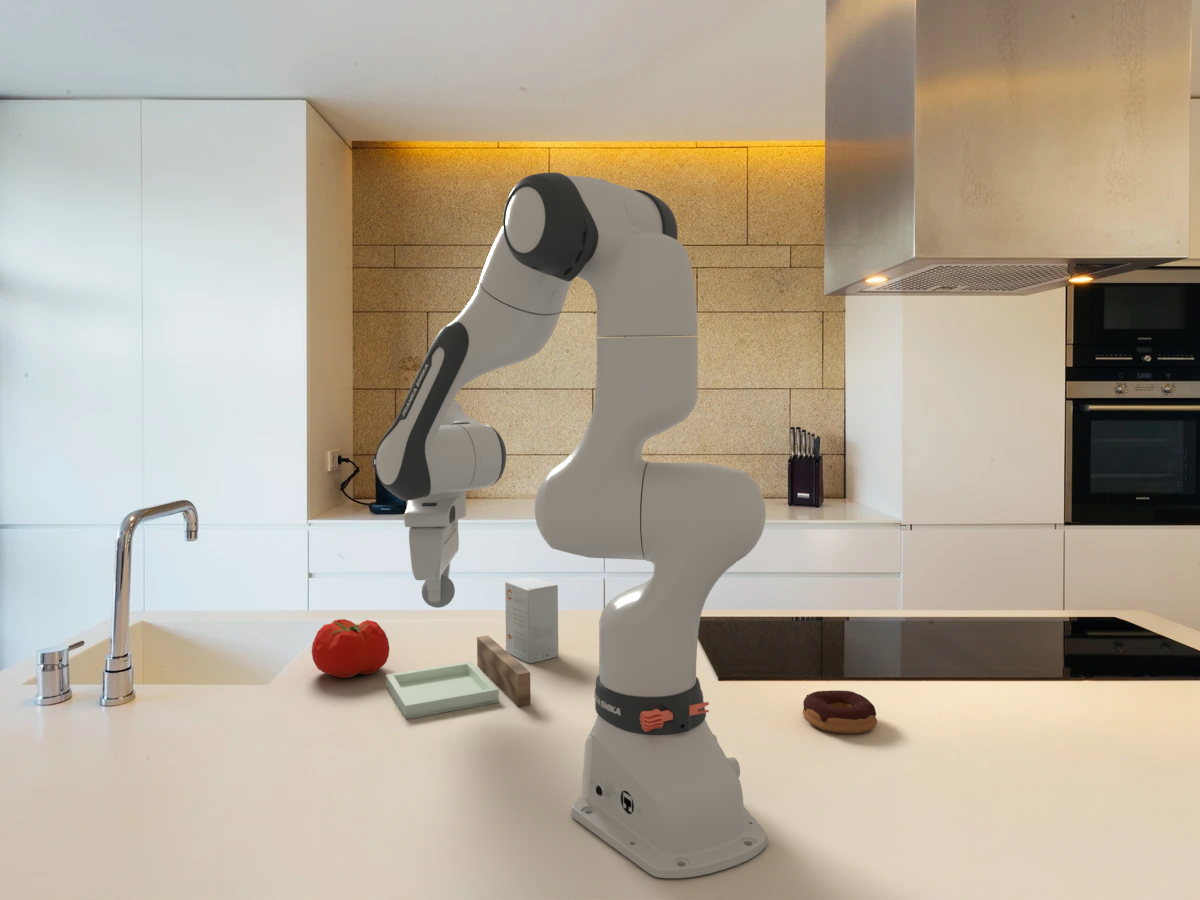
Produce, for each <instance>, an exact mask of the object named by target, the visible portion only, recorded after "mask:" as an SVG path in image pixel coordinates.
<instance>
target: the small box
mask: <svg viewBox="0 0 1200 900" xmlns="http://www.w3.org/2000/svg"><path fill="white" fill-rule="evenodd" d="M504 587H505V589H504V590H505V591H504V592H505V651H507V652H508V653H509V654H510V655H511V656H512V657H514V658H518V659H519V660H521V661H523V662H525V663H527V664H534V663H539V662H542V661H546V660H551V659H555V658H557V657H559V598H558V597H559V592H558V589H559V585H558V584H556V583H553V582H549V581H547V580H543V579H541V578H538V577H535V576H534V577H533V576H531V577H526V578H520V579H513V580H507V581H505V586H504Z"/></svg>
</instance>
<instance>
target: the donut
mask: <svg viewBox="0 0 1200 900" xmlns="http://www.w3.org/2000/svg"><path fill="white" fill-rule="evenodd" d="M802 716H803V719H804V720H805V721H807V722H808V723H809V724H811V725H812V726H814V727H816V728H817V729H820V730H822V731H826V732H829V733H830V732H831V733H835V734H843V735H844V734H845V735H854V734H855V735H857V734H863V733H868V732H869V731H872V730H873V729H875V728H876V726H877V725H878V720H877V717H876V716H877V712H876V707H875V706H874V705H873V703H872V702H871V701H869V699H868V698H866V697H864V696H863V695H861V694H859V693H856V692H855V691H851V690H840V689H839V690H817V691H813V692H811V693H809V694H806V696H805V697H804V699H803V710H802Z"/></svg>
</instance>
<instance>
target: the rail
mask: <svg viewBox="0 0 1200 900" xmlns="http://www.w3.org/2000/svg"><path fill="white" fill-rule="evenodd" d="M476 659H477V660H476V662H477V666H476V667H477V668H478V669H479V670H480V671H481V672H482V673H483V674H484V675H485V676H486V677H487V678H488V679H489V680H490V681H491V682H492V683H493V684H494V685H495V686H496V687H498V689H499V690H501V692H502V693H503V694H505V695H506V696H507V698H508V699H509V700H511V701H512V703H513V704H514V705H515V706H516V707H518V708H521V707H527V706H530V705H532V704H531V699H532V698H531V672H530V671H529V669H527V668H526V667H525V666H524V665H523V664H521V662H519V661H518V660H517V659H516V657H514V656H513V655H511V654H509V653H508V652H507V651H506V649H505V648H503V647H502V646H501V645H500V644H499V643H498V642H497V641H495V640H494V639H493V638H492V637H490V636H489V635H481V636H476Z"/></svg>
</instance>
